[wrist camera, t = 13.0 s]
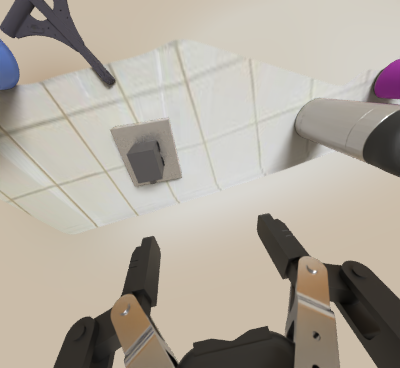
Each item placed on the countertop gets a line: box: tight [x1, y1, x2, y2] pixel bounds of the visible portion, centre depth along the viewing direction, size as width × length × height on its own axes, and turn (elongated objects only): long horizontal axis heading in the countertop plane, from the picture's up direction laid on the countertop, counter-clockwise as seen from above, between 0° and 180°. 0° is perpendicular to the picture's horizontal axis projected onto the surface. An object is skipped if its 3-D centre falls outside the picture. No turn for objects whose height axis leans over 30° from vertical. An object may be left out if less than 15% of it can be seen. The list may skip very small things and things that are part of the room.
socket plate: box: [110, 117, 182, 186], centre depth 37 cm, size 12×14×3 cm
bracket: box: [0, 0, 115, 85], centre depth 26 cm, size 14×15×3 cm
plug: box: [126, 140, 164, 184], centre depth 35 cm, size 5×8×8 cm, turn 8°
